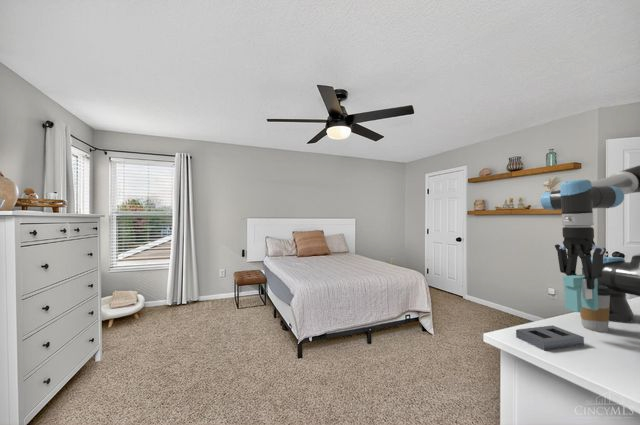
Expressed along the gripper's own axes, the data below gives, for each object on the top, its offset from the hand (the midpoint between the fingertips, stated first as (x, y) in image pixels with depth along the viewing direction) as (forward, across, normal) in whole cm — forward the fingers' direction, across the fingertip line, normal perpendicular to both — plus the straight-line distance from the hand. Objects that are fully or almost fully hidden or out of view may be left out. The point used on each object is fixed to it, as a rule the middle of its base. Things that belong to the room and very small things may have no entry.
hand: (581, 296), depth 87 cm
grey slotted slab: (+13, 0, -15) cm, 19 cm away
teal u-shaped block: (+4, 0, 0) cm, 4 cm away
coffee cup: (+13, -4, +10) cm, 17 cm away
